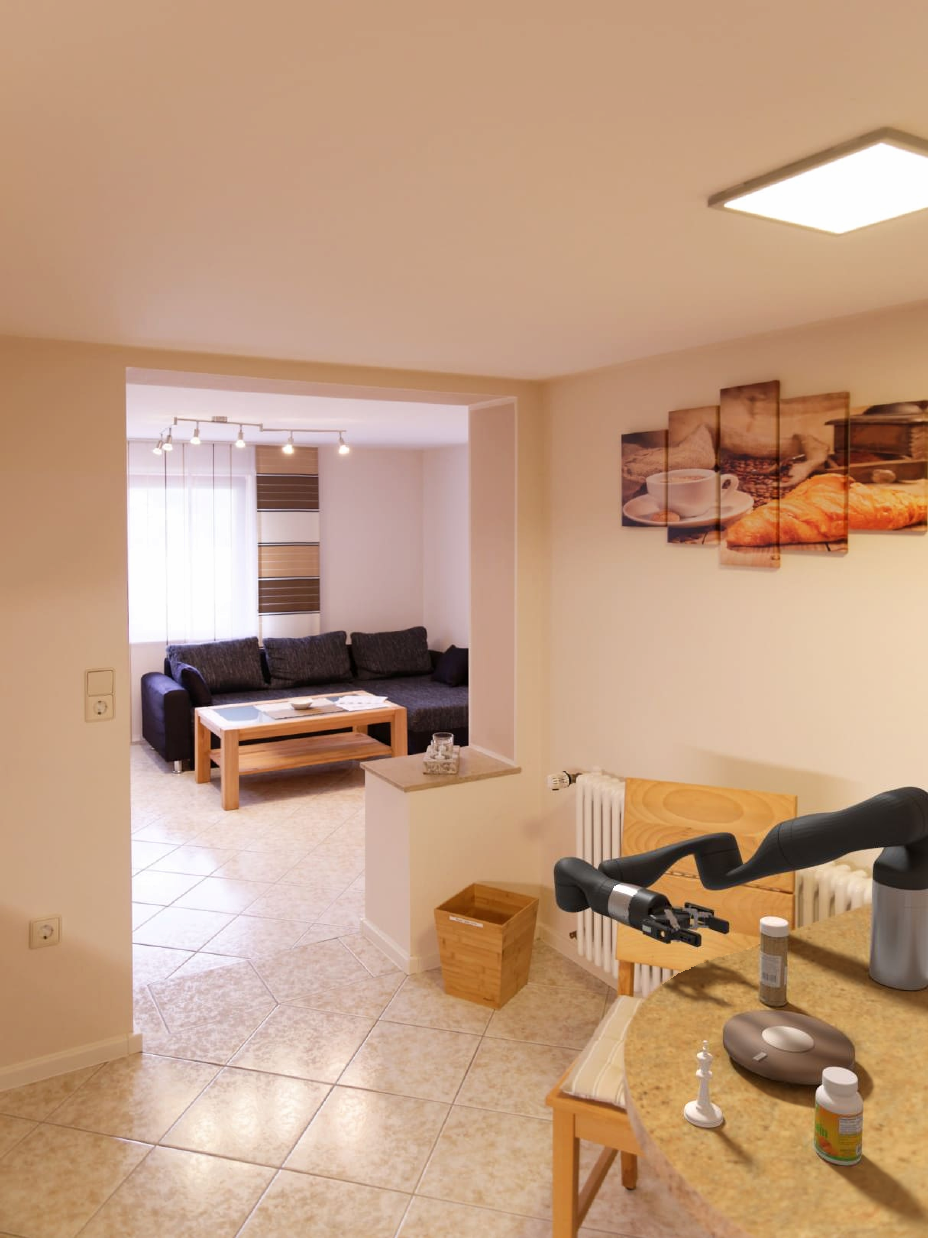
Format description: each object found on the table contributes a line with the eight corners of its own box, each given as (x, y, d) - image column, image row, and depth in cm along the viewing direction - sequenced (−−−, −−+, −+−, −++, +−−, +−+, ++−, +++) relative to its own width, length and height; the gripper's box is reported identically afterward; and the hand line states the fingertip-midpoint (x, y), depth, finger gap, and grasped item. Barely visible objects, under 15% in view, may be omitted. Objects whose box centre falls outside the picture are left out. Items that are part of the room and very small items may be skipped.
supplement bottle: (805, 1140, 115) (808, 1064, 115) (847, 1138, 116) (850, 1062, 115) (826, 1168, 110) (829, 1088, 109) (870, 1166, 110) (872, 1087, 110)
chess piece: (724, 1110, 122) (726, 1035, 121) (721, 1131, 117) (723, 1054, 116) (685, 1102, 123) (687, 1029, 123) (681, 1123, 119) (683, 1047, 118)
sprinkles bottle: (792, 1003, 152) (795, 922, 151) (774, 1010, 149) (777, 928, 148) (769, 992, 155) (772, 913, 155) (751, 999, 153) (753, 919, 152)
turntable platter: (764, 1008, 147) (764, 997, 146) (877, 1053, 133) (878, 1041, 133) (697, 1046, 135) (698, 1035, 135) (815, 1100, 121) (815, 1088, 121)
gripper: (661, 918, 177) (736, 945, 165) (613, 938, 168) (689, 967, 155) (662, 879, 177) (737, 903, 164) (614, 897, 167) (690, 924, 155)
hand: (714, 934), depth 160 cm, fingers open, 8 cm apart
